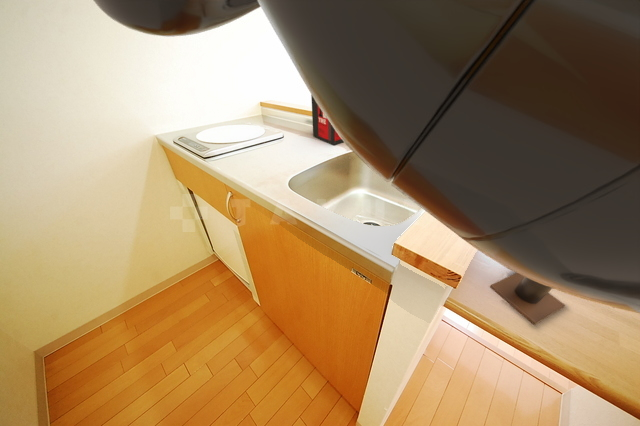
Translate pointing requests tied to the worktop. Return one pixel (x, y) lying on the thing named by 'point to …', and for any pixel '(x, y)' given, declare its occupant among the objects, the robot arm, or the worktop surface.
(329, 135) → the cleaning product box
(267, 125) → the worktop surface
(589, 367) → the worktop surface
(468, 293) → the worktop surface
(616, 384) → the worktop surface
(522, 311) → the base
